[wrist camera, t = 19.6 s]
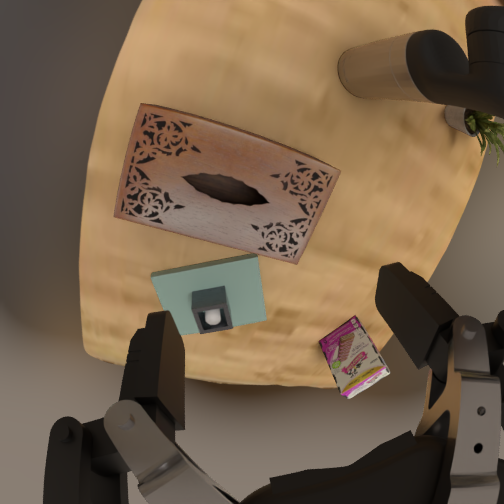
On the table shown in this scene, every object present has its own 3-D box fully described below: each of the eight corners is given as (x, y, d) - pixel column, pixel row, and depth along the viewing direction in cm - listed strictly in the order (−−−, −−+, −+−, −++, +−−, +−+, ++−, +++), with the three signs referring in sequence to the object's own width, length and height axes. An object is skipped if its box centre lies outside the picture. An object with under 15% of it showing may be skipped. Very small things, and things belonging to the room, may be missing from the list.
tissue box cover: (132, 193, 40) (113, 216, 31) (156, 105, 34) (140, 103, 25) (280, 234, 48) (297, 264, 39) (314, 157, 42) (341, 171, 33)
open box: (224, 285, 49) (226, 303, 44) (230, 310, 52) (233, 328, 47) (192, 291, 48) (191, 309, 44) (200, 315, 51) (200, 334, 47)
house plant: (433, 157, 44) (493, 182, 30) (420, 91, 37) (486, 99, 23) (470, 142, 43) (525, 162, 29) (460, 84, 36) (519, 93, 22)
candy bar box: (354, 313, 60) (386, 365, 46) (362, 323, 63) (392, 372, 48) (316, 340, 63) (340, 395, 48) (326, 348, 65) (349, 400, 51)
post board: (256, 252, 48) (263, 273, 43) (265, 315, 56) (271, 337, 50) (151, 272, 47) (145, 294, 41) (175, 331, 54) (174, 354, 49)
